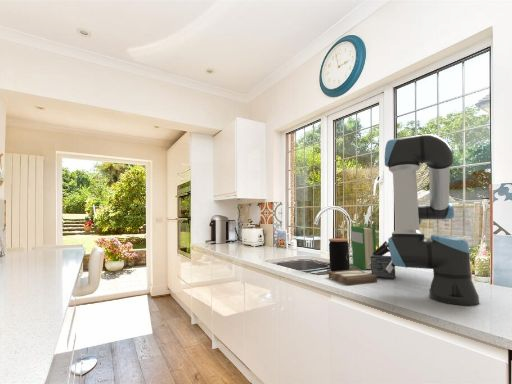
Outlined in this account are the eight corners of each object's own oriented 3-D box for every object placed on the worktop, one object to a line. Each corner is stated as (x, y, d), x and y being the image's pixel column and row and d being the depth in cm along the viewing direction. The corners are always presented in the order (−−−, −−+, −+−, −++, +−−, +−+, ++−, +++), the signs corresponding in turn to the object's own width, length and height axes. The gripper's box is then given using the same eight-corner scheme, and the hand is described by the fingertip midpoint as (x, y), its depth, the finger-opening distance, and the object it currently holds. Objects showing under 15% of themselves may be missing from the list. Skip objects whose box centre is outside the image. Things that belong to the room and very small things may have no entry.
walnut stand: (376, 282, 131) (376, 275, 131) (347, 285, 126) (347, 278, 127) (355, 275, 146) (355, 268, 147) (328, 277, 142) (328, 271, 142)
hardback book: (377, 270, 158) (375, 227, 160) (364, 270, 158) (362, 227, 160) (364, 264, 175) (362, 226, 177) (353, 264, 175) (351, 226, 177)
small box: (395, 276, 141) (394, 255, 142) (394, 279, 135) (393, 257, 136) (373, 274, 146) (372, 254, 147) (371, 277, 141) (370, 256, 142)
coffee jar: (351, 273, 150) (349, 240, 151) (330, 273, 152) (329, 240, 154) (348, 269, 160) (347, 238, 162) (329, 269, 163) (328, 238, 164)
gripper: (425, 243, 135) (402, 278, 130) (388, 239, 158) (367, 269, 152) (416, 233, 134) (392, 268, 128) (380, 230, 157) (358, 260, 151)
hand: (378, 268), depth 140 cm, fingers closed on small box, 11 cm apart
